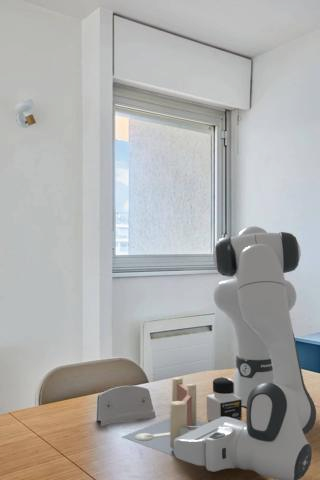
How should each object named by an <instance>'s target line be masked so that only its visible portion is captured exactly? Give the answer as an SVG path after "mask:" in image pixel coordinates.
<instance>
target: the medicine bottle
mask: <svg viewBox="0 0 320 480" xmlns="http://www.w3.org/2000/svg"><path fill="white" fill-rule="evenodd" d="M234 394H235V382H234V380H233V378H229V377H225V376H224V377H221V376H220V377H217V378H214V379H213V380H212V394H207V395H206V420H207V421H209V422H211V421H214V420H216V419H218V418H220V417H230V418H234V419H237V420H240V421H243V420H242V418H243V416H242V414H243V413H242V399H241V398H240V397H237V396H235V395H234Z"/></svg>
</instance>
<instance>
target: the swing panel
mask: <svg viewBox="0 0 320 480" xmlns="http://www.w3.org/2000/svg"><path fill="white" fill-rule="evenodd" d="M169 418H170V447H171V448H173V449H174V439H175V438H177V437H180V436H181V435H180V428H182V427H184V426H186V425H188V426H192V395H187V396H186V397H185V398H184V399H183V400H182V401H174V402H172V401H170V403H169Z"/></svg>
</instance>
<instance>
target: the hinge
mask: <svg viewBox="0 0 320 480" xmlns="http://www.w3.org/2000/svg"><path fill="white" fill-rule="evenodd" d="M151 398H152V397H151V394H150V390H149V389H148V388H146V387H142V386H137V385H122V386H116V387H113V388H110V389H107V390H104V391H103V392H100V393H99V394H98V396H97V399H96V400H97V402H96V405H97V406H96V422H98V421H99V422H100V427H105V426H108V424H114V423H116V424H117V423H121V422H130V421H137V420H143V419H150V418H155V417H156V416H157V415H156V411H155V409H154V407H153V402H152V399H151Z"/></svg>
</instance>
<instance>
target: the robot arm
mask: <svg viewBox="0 0 320 480" xmlns="http://www.w3.org/2000/svg"><path fill="white" fill-rule="evenodd" d="M213 248H214V249H213V251H212V252H213V253H212V260H213V264H214V266H215V268H216V270H217V272H218V273H219V274H220V275H221V276H225V277H229V278H230V279H224V280H220V281H219V282H218V283H217V284H216V286H215V287H214V289H213V290H214V291H213V300H214V303H215V305H216V307H217V308H218V309H219V310H220V311H221V312H223V313H224V314H225V315H226V316H227V317H228V319H229V320H230V321H231V323H232V325H233V327H234V330H235V335H236V336H235V337H236V346H237V349H236V351H237V353H236V354H237V355H236V358H235V367H236V370H235V371H234V372H233V377H232V380H234V382H235V394H234V395H235V396H237V397H240V398H241V399H242V406H243V407H246V410H245V411H246V415H245V416H246V417H245V420H246V421H243V420H242V421H240V420H237V419H234V418H230V417H220V418H218V419H216V420H214V421H209V422H208V423H206V424H205V425H203V426H188V425H186V426H184V427H182V428H180V435H181V436H180V437H177V438H175V439H174V454H175V456H176V457H175V456H174V457H175V458H177V459H179V460H181V461H184V462H186V463H189V464H193V465H196V466H202V467H204V466H205V468H206V470H207V471H209V472H219V471H222V470H226V469H236V468H237V469H241V470H243V471H254V472H255V473H257V474H258V475H261V476H264V477H267V478H270V479H274V480H300V479H302V478H303V477H304V476H305V475H306V473H307V472H308V470H309V468H310V465H311V462H312V456H313V455H312V454H313V453H312V445H311V444H310V443H309V441H307V438H306V435H307V434H308V433H309V432H310V431H311V430H312V429H313V428H314V425H315V422H316V419H317V410H316V405H315V402H314V401H313V398H312V396H310V393H309V391H308V390H307V387H306V385H305V381H304V376H303V371H302V367H301V361H300V358H299V352H298V347H297V342H296V338H295V333H294V329H293V324H292V320H291V315H290V311H291V310H292V309H293V307H294V306H295V305H296V301H297V292H296V288H295V287H294V285H293V284H292V283H291V282H290V280H286V278H285V273H286V274H287V273H290V272H292V271H293V272H294V271H295V270H296V269H297V268H298V266H299V263H300V260H301V254H302V253H301V247H300V244H299V242H298V240H297V238H296V236H295V235H293V233H290V232H285V231H284V232H283V231H279V232H268V231H266V230H265V229H264V228H262V227H259V226H248V227H245V228H243V229H242V230H240V232H239V233H238V235H235V236H225V237H222V238H219V239H218V240H217V241H216V242H215V246H214V247H213ZM233 277H236V278H233Z"/></svg>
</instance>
